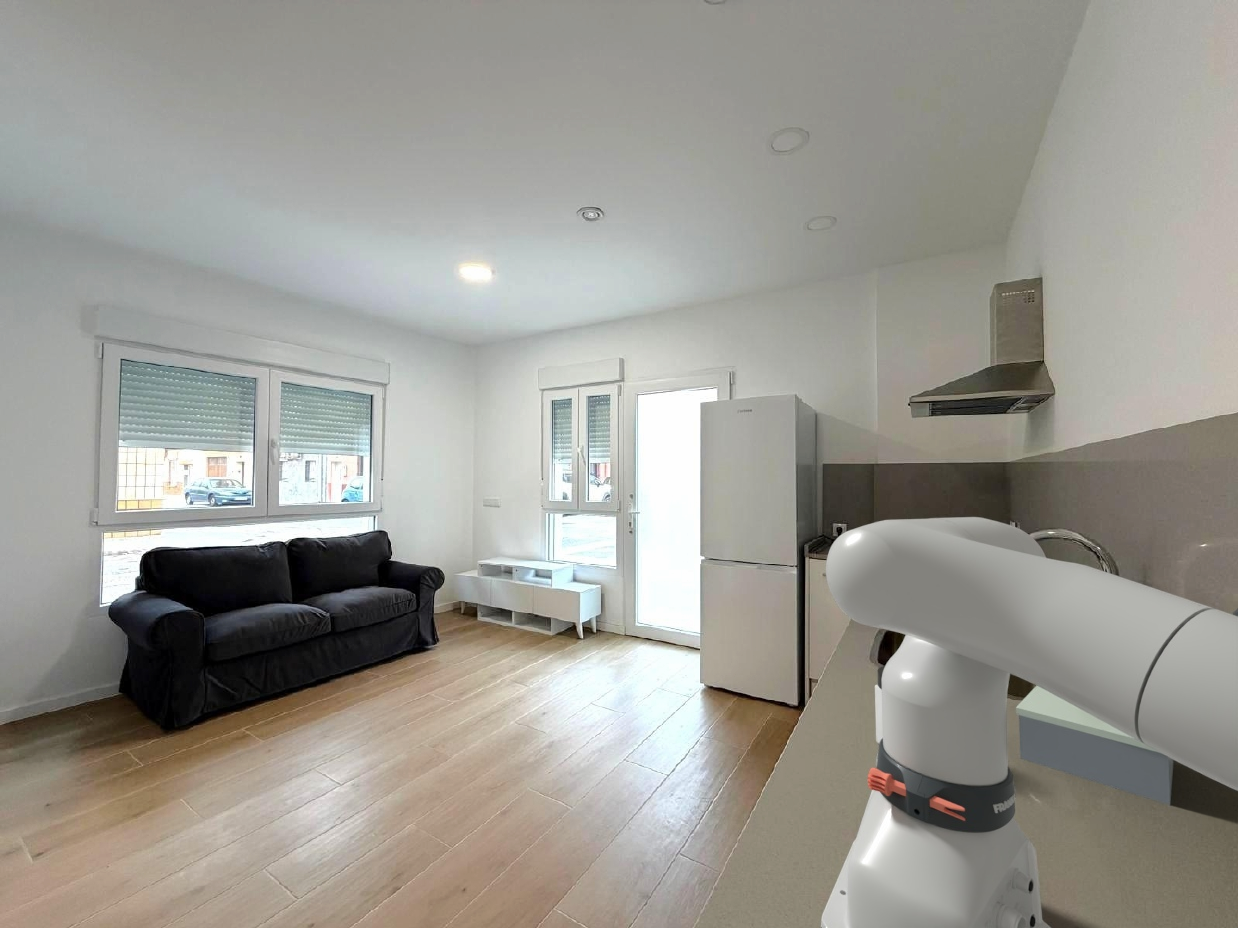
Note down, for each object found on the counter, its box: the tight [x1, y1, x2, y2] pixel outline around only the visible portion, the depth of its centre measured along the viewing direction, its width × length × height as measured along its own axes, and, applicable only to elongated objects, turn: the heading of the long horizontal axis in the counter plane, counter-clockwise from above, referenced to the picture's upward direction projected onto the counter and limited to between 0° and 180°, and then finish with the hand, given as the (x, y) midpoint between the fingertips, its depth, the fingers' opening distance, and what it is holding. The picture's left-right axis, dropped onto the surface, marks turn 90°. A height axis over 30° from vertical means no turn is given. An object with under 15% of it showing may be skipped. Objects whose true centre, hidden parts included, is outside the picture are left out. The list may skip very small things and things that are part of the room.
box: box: [1018, 715, 1174, 806], centre depth 80 cm, size 16×16×7 cm
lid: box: [1015, 685, 1160, 753], centre depth 81 cm, size 16×16×15 cm
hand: (1084, 654), depth 81 cm, fingers closed on lid, 3 cm apart
